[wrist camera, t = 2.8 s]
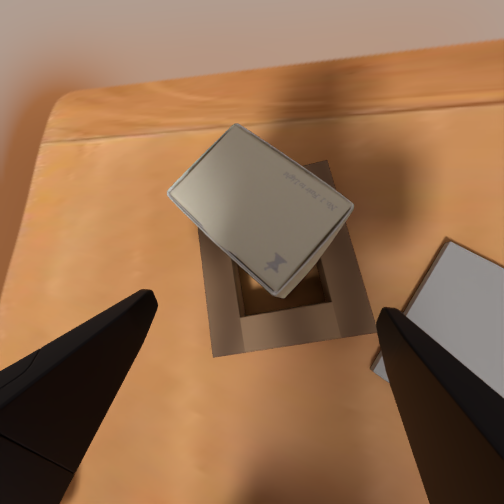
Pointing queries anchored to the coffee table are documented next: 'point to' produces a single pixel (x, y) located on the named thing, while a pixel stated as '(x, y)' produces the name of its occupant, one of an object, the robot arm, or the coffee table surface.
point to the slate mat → (462, 312)
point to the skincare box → (261, 208)
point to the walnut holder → (291, 319)
